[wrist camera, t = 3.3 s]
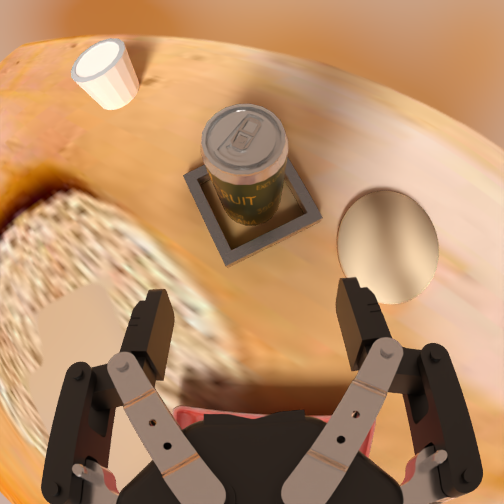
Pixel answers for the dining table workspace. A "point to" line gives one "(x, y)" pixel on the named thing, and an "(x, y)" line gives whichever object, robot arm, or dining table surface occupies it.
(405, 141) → the dining table surface
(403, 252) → the coaster
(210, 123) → the beer can
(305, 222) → the collar
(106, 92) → the white tapered cylinder
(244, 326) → the dining table surface
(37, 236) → the dining table surface
